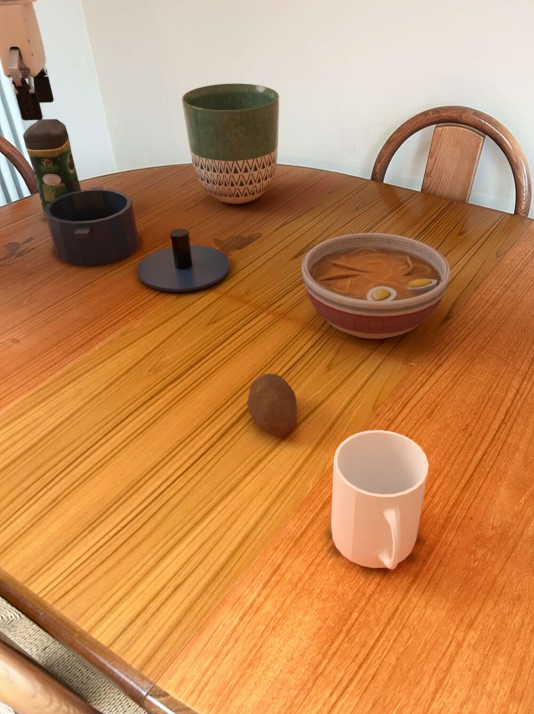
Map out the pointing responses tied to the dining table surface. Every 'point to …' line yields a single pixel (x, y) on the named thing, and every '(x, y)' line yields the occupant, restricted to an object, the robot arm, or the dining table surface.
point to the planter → (233, 139)
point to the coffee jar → (51, 159)
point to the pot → (92, 226)
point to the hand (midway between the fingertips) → (38, 110)
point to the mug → (377, 497)
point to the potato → (273, 404)
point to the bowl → (375, 283)
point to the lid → (183, 265)
